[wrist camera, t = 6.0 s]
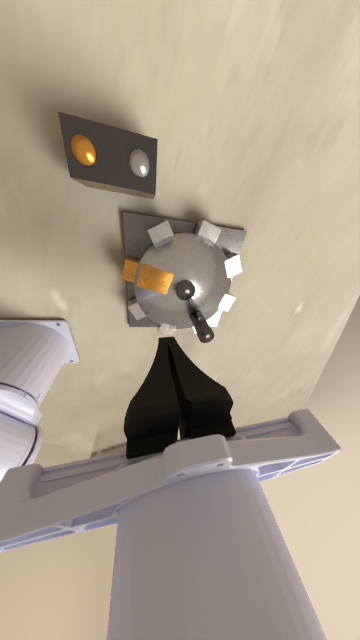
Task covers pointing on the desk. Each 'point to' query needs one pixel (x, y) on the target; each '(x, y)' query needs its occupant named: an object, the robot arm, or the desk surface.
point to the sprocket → (182, 279)
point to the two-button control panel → (109, 157)
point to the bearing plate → (140, 241)
